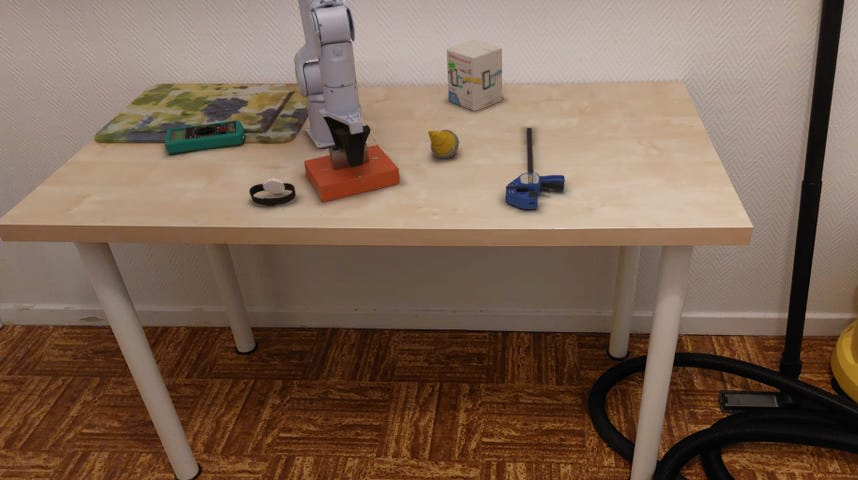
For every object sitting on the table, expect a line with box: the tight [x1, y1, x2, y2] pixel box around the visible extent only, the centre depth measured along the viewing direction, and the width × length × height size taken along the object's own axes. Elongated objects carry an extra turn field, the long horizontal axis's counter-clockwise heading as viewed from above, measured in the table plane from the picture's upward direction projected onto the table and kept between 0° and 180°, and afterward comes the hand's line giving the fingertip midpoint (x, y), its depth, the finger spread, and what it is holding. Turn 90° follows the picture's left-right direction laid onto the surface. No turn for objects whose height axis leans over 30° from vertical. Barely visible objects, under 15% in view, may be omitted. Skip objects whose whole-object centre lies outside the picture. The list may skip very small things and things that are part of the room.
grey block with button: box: [328, 142, 369, 170], centre depth 129 cm, size 6×2×4 cm, turn 115°
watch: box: [248, 177, 297, 207], centre depth 126 cm, size 8×5×4 cm, turn 91°
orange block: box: [303, 144, 401, 203], centre depth 131 cm, size 14×11×3 cm
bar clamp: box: [505, 127, 566, 210], centre depth 134 cm, size 32×2×10 cm
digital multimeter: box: [164, 119, 246, 155], centre depth 146 cm, size 7×15×3 cm, turn 105°
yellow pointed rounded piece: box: [427, 129, 460, 160], centre depth 136 cm, size 5×5×10 cm
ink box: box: [446, 39, 503, 112], centre depth 157 cm, size 9×8×12 cm
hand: (349, 156), depth 130 cm, fingers open, 7 cm apart
